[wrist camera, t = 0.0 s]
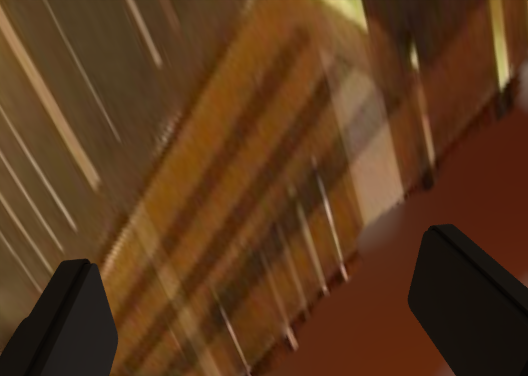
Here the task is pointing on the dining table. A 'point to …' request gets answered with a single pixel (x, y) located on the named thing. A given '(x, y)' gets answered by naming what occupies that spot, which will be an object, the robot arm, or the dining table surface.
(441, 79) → the dining table surface
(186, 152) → the dining table surface
